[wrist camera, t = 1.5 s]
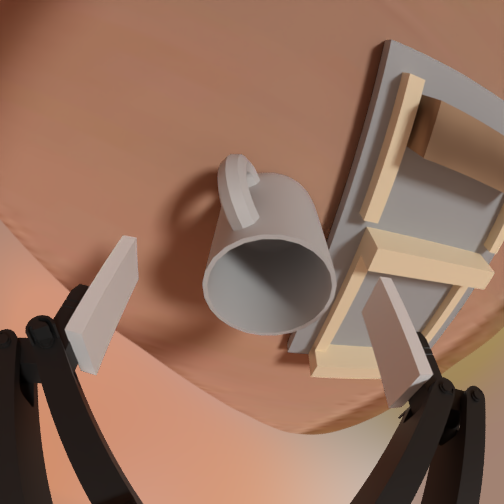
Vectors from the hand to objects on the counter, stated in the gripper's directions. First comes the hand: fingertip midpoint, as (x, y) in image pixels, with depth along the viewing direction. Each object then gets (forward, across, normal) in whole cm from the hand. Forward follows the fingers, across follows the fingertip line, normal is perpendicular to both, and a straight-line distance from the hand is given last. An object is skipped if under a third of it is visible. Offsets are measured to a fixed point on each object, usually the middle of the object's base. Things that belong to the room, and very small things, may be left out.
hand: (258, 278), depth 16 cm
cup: (+9, 0, +1) cm, 9 cm away
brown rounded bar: (+8, +15, +10) cm, 19 cm away
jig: (+9, +15, 0) cm, 17 cm away
